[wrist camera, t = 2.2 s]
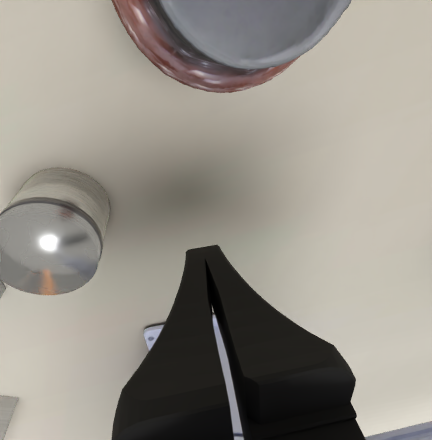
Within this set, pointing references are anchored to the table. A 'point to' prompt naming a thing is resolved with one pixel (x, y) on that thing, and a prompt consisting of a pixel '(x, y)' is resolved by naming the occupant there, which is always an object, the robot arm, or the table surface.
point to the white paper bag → (6, 412)
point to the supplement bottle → (226, 37)
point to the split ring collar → (1, 288)
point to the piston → (53, 232)
